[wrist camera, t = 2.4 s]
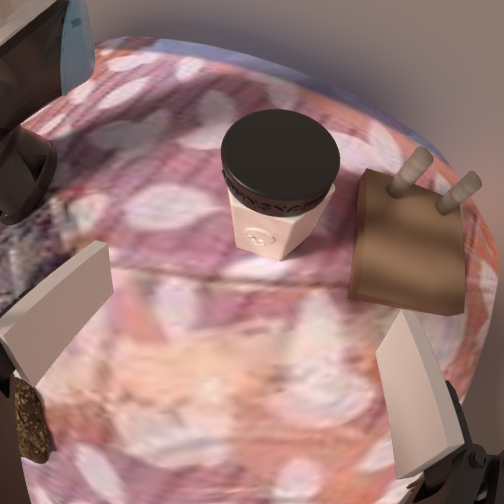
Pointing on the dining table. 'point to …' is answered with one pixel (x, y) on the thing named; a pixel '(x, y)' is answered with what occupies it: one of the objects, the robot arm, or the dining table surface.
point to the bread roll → (30, 424)
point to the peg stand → (410, 240)
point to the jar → (277, 179)
